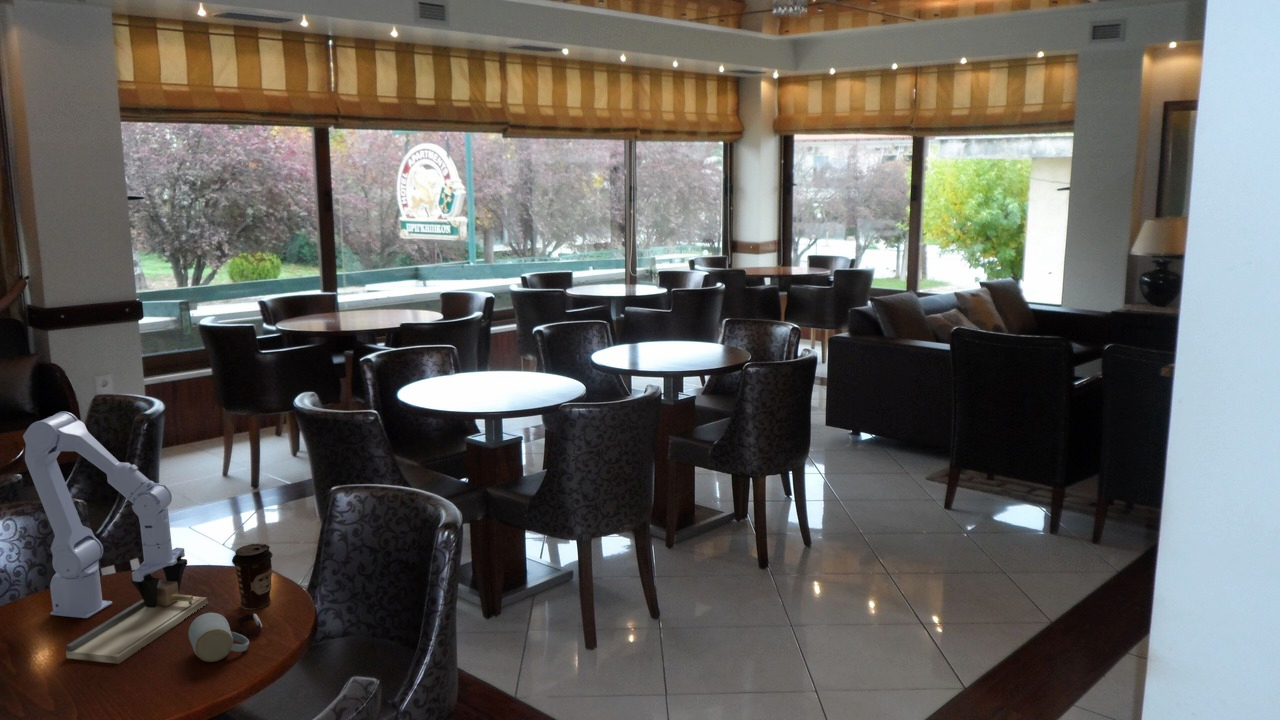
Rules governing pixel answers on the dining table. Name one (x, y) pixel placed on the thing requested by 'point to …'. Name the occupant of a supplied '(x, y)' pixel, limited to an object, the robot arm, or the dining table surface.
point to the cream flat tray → (130, 631)
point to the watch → (249, 618)
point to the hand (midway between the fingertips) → (162, 599)
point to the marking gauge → (170, 593)
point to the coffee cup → (254, 575)
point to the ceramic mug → (214, 637)
